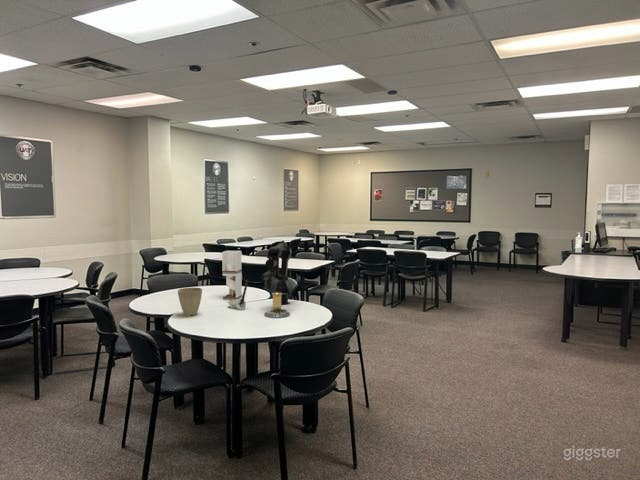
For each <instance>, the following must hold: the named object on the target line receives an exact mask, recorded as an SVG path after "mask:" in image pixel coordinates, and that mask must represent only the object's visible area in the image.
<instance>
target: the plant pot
mask: <svg viewBox="0 0 640 480" xmlns="http://www.w3.org/2000/svg"><path fill="white" fill-rule="evenodd" d="M202 293H203V288H201V287H183V288H179V289H177V295H178V300H179V304H180V307H181V309H182V312H183V314H184V316H185V315H187V316H186V317H192V316H191V315H194V316H196V315H197V314H198V311H199V308H200V305H201V300H202V295H203V294H202Z"/></svg>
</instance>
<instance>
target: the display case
mask: <svg viewBox="0 0 640 480" xmlns="http://www.w3.org/2000/svg"><path fill="white" fill-rule="evenodd" d="M221 254H222V255H221V256H222V257H221V258H222V263H221V264H222V267H221V269H222V276H223V277H225V278H226V279H225V280H226V281H225V282H226V283H225V284H226V287H227V288H228V290H229V291H228V294H225V295H224V296H223V297H222V300H223V301H229V300H233V301H234V300H235V299H236V300H237V301H238V300H239V299H242V295H243V292H242V291H243V289H242V287H243V285H242V284H243V283H242V280H243V279H242V278H243V277H242V276H243V275H242V267H243V266H242V250H224V251H222V253H221Z"/></svg>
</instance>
